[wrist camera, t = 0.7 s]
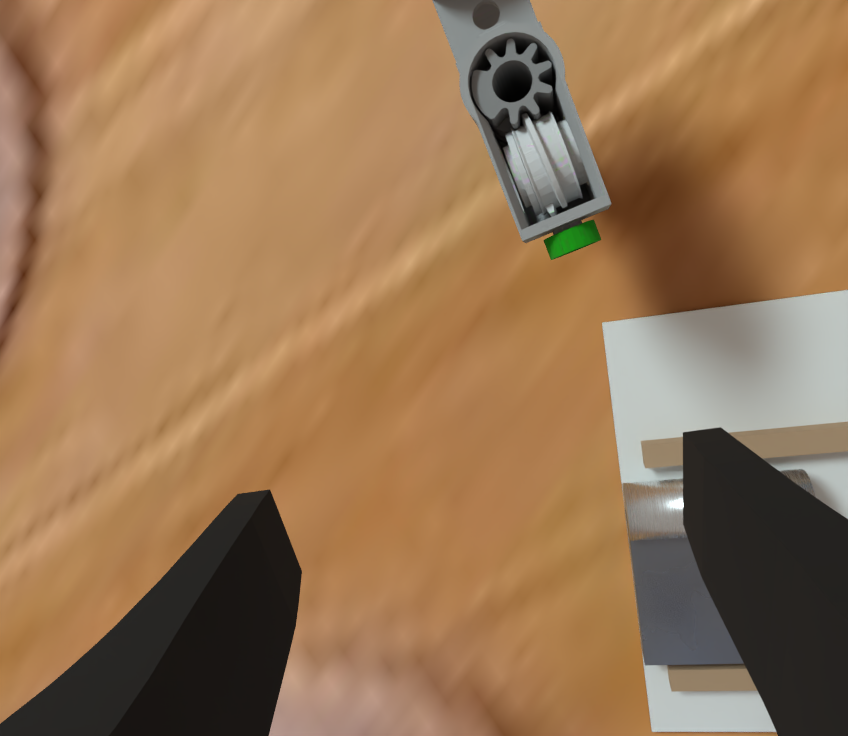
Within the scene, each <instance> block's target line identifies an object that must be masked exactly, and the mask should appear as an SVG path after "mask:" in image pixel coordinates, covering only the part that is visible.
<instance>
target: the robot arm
mask: <svg viewBox="0 0 848 736" xmlns="http://www.w3.org/2000/svg"><path fill="white" fill-rule="evenodd" d="M683 525H684V528H685V531H686V534H687V537H688V540H689V543H690V546H691V549H692V552H693V555H694V558H695V560H696V563H697V566H698V569H699V571H700V574H701V577H702V579H703V581H704V584H705V586H706V588H707V590H708V592H709V594H710V596H711V598H712V600H713V602H714V604H715V606H716V608H717V610H718V612H719V614H720V616H721V618H722V620H723V622H724V624H725V626H726V628H727V630H728V632H729V634H730V636H731V638H732V640H733V643H734V645H735V647H736V649H737V651H738V653H739V655H740V657H741V659H742V661H743V663H744V665H745V667H746V669H747V671H748V673H749V675H750V677H751V679H752V681H753V683H754V685H755V687H756V689H757V691H758V693H759V695H760V697H761V699H762V701H763V703H764V705H765V707H766V709H767V712H768V714H769V716H770V718H771V720H772V723H773V725H774V727H775V729H776V732H777V734H778V736H848V519H847V518H846V517H844V516H842V515H841V514H839V513H838V512H836V511H835V510H833V509H832V508H830V507H829V506H827V505H826V504H825V503H823V502H822V501H820V500H819V499H817V498H816V497H814V496H813V495H812V494H810V493H809V492H807V491H806V490H804V489H803V488H802V487H800V486H799V485H797V484H796V483H795V482H793V481H792V480H790V479H789V478H788V477H786V476H785V475H784V474H782V473H781V472H780V471H778V470H777V469H776V468H774V467H773V466H772V465H770V464H769V463H768V462H766V461H765V460H764V459H762V458H761V457H760V456H758V455H757V454H756V453H754V452H753V451H752V450H750V449H749V448H748V447H746V446H745V445H744V444H742V443H741V442H740V441H738V440H737V439H736V438H734V437H733V436H732V435H730V434H729V433H728V432H726V431H725V430H724V429H722V428H721V427H718V428H711V429H704V430H696V431H689V432H683ZM301 574H302V571H301V568H300V565H299V563H298V560H297V558H296V555H295V553H294V550H293V547H292V545H291V542H290V540H289V537H288V535H287V532H286V529H285V527H284V524H283V522H282V519H281V517H280V514H279V511H278V509H277V506H276V504H275V501H274V499H273V496H272V493H271V491H270V490H264V491H257V492H249V493H242V494H237V495H236V497H235V498H234V499H233V500H232V501H231V502H230V503H229V504H228V505H227V506H226V507H225V508H224V509H223V510H222V511H221V513H220V514H219V515H218V516H217V517H216V518H215V519H214V520H213V522H212V523H211V524H210V525H209V526H208V527H207V528H206V529H205V531H204V532H203V533H202V534H201V535H200V536H199V537H198V539H197V540H196V541H195V542H194V543H193V544H192V545H191V546H190V548H189V549H188V550H187V551H186V552H185V553H184V554H183V555H182V556H181V557H180V559H179V560H178V561H177V562H176V563H175V564H174V565H173V566H172V567H171V569H170V570H169V571H168V572H167V573H166V574H165V575H164V576H163V577H162V578H161V580H160V581H159V582H158V583H157V584H156V585H155V586H154V587H153V588H152V589H151V590H150V591H149V592H148V593H147V594H146V595H145V596H144V597H143V598H142V599H141V600H140V601H139V602H138V603H137V604H136V605H135V606H134V607H133V608H132V609H131V610H130V611H129V612H128V613H127V614H126V615H125V616H124V618H123V619H122V620H121V621H120V622H119V623H118V624H117V625H116V626H115V627H114V628H113V629H112V630H110V631H109V632H108V633H107V634H106V635H105V636H104V637H103V638H102V639H101V640H100V641H99V642H98V643H97V644H96V645H95V646H93V647H92V648H91V649H90V650H89V651H88V652H87V653H86V654H85V655H83V656H82V657H81V658H80V659H79V660H78V661H77V662H76V663H74V664H73V665H72V666H71V667H70V668H69V669H68V670H66V671H65V672H64V673H63V674H62V675H61V676H60V677H58V678H57V679H56V680H55V681H54V682H52V683H51V684H50V685H49V686H48V687H46V688H45V689H44V690H43V691H41V692H40V693H39V694H38V695H36V696H35V697H34V698H32V699H31V700H30V701H29V702H27V703H26V704H25V705H24V706H22V707H21V708H20V709H18V710H17V711H16V712H15V713H13V714H12V715H11V716H10V717H8V718H7V719H6V720H4V721H3V722H2V723H1V724H0V736H269V732H270V728H271V724H272V720H273V716H274V712H275V708H276V704H277V700H278V696H279V692H280V688H281V684H282V680H283V676H284V672H285V668H286V664H287V660H288V656H289V652H290V647H291V643H292V639H293V635H294V630H295V626H296V619H297V611H298V604H299V594H300V584H301Z"/></svg>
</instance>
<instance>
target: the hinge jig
mask: <svg viewBox="0 0 848 736" xmlns="http://www.w3.org/2000/svg"><path fill="white" fill-rule="evenodd" d="M602 327H603V335H604V343H605V351H606V359H607V368H608V376H609V384H610V392H611V400H612V409H613V417H614V425H615V433H616V441H617V450H618V458H619V466H620V474H621V483H631V482H644V481H657V480H669V479H682V478H683V432H689V431H696V430H704V429H711V428H718V427H721V428H722V429H724V430H725V431H726V432H728V433H729V434H730V435H732V436H733V437H734V438H736V439H737V440H738V441H740V442H741V443H742V444H744V445H745V446H746V447H748V448H749V449H750V450H752V451H753V452H754V453H756V454H757V455H758V456H760V457H761V458H762V459H764V460H765V461H766V462H768V463H769V464H770V465H772V466H773V467H774V468H776V469H777V470H778V471H782V470H794V469H803V470H805V471H806V473H807V474H808V476H809V478H810V480H811V482H812V485H813V488H814V492H815V496H816V498H817V499H819V500H820V501H822V502H823V503H825V504H826V505H827V506H829V507H830V508H832V509H833V510H835V511H836V512H838V513H839V514H841V515H842V516H844V517H846V518H847V519H848V290H843V291H835V292H828V293H820V294H813V295H805V296H798V297H790V298H783V299H775V300H768V301H761V302H753V303H746V304H738V305H731V306H723V307H716V308H708V309H701V310H693V311H686V312H678V313H671V314H663V315H656V316H648V317H641V318H633V319H626V320H618V321H611V322H603V323H602ZM622 491H623V486H622ZM623 499H624V497H623ZM624 507H625V505H624ZM625 515H626V513H625ZM626 524H627V522H626ZM627 532H628V530H627ZM628 540H629V538H628ZM629 548H630V546H629ZM630 556H631V554H630ZM631 565H632V563H631ZM632 573H633V571H632ZM633 581H634V579H633ZM634 589H635V587H634ZM635 597H636V595H635ZM636 606H637V604H636ZM637 614H638V612H637ZM638 622H639V620H638ZM639 630H640V628H639ZM640 639H641V637H640ZM641 647H642V645H641ZM642 655H643V652H642ZM643 663H644V657H643ZM644 671H645V680H646V688H647V696H648V704H649V712H650V721H651V728H652V732H776V729H775V727H774V725H773V723H772V720H771V718H770V716H769V714H768V712H767V709H766V707H765V705H764V703H763V701H762V699H761V697H760V695H759V693H758V691H757V689H756V687H755V685H754V683H753V681H752V679H751V677H750V675H749V673H748V671H747V669H746V667H745V665H744V664H694V665H645V663H644Z"/></svg>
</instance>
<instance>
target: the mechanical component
mask: <svg viewBox="0 0 848 736" xmlns="http://www.w3.org/2000/svg"><path fill="white" fill-rule="evenodd" d="M433 3H434V5H435V8H436V11H437V13H438V16H439V18H440V21H441V24H442V26H443V29H444V31H445V34H446V37H447V39H448V42H449V44H450V47H451V50H452V52H453V55H454V57H455V60H456V66H457V68H458V71H459V73H460V92H461V97H462V100H463V102H464V105H465V107H466V109H467V110H468V112H469V114H470V115H471V117H472V118H473V120H474V121H475V123H476V125H477V126H478V128H479V130H480V132H481V135H482V137H483V140H484V143H485V145H486V148H487V150H488V153H489V156H490V158H491V161H492V163H493V166H494V169H495V171H496V174H497V176H498V179H499V182H500V184H501V187H502V189H503V192H504V195H505V197H506V200H507V202H508V205H509V208H510V210H511V213H512V215H513V218H514V221H515V223H516V226H517V228H518V231H519V234H520V236H521V239H522V241H523V242H525V243H527V242H530V241H532V240H535V239H537V238H540V237H542V236H544V235H547V234H549V233H552V232H553V234H554V235H553V236H551V237H549V238H547V239H545V240H544V243H545V245H546V248H547V251H548V253H549V256H550V258H551V260H553V259H555V258H558V257H561V256H563V255H566V254H568V253H571V252H573V251H576V250H578V249H581V248H583V247H586V246H588V245H590V244H593V243H595V242H597V241H599V240H601V238H600V235H599V232H598V230H597V227H596V224H595V222H594V220H590V221H587V222H584V223H582V221H581V220H583V219H585V218H588V217H590V216H592V215H595V214H597V213H600V212H602V211H604V210H607V209H609V207H610V205H611V201H610V198H609V196H608V193H607V190H606V188H605V185H604V182H603V180H602V177H601V174H600V172H599V169H598V166H597V164H596V161H595V158H594V156H593V153H592V150H591V148H590V145H589V142H588V140H587V137H586V134H585V132H584V129H583V126H582V124H581V121H580V118H579V116H578V113H577V111H576V108H575V105H574V103H573V100H572V97H571V95H570V92H569V89H568V87H567V84H566V81H565V67H564V62H563V57H562V55H561V52H560V50H559V48H558V46H557V45H556V43H555V42H554V40H553V39H552V38H551V37H550V36H549V35H548V34H547V33H545V32H544V31H543V28H542V26H541V23H540V22H538V21H537V18H536V16H535V13H534V11H533V8H532V5H531V3H530V0H433Z"/></svg>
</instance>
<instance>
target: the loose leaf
mask: <svg viewBox="0 0 848 736" xmlns="http://www.w3.org/2000/svg"><path fill="white" fill-rule="evenodd" d="M780 472H781V473H782V474H784V475H785V476H786V477H788V478H789V479H790V480H792V481H793V482H795V483H796V484H797V485H799V486H800V487H802V488H803V489H804V490H806V491H807V492H809V493H810V494H812V495H813V496H814V497H816V496H815V492H814V488H813V485H812V482H811V480H810V478H809V476H808V474H807V473H806V471H805V470H803V469H794V470H782V471H780ZM622 486H623V497H624V505H625V513H626V522H627V530H628V538H629V546H630V554H631V563H632V571H633V579H634V587H635V595H636V604H637V612H638V620H639V628H640V637H641V645H642V652H643V657H644V663H645V665H694V664H744V663H743V661H742V659H741V657H740V655H739V653H738V651H737V649H736V647H735V645H734V643H733V640H732V638H731V636H730V634H729V632H728V630H727V628H726V626H725V624H724V622H723V620H722V618H721V616H720V614H719V612H718V610H717V608H716V606H715V604H714V602H713V600H712V598H711V596H710V594H709V592H708V590H707V588H706V586H705V584H704V581H703V579H702V577H701V574H700V571H699V569H698V566H697V563H696V560H695V558H694V555H693V552H692V549H691V546H690V543H689V540H688V537H687V534H686V531H685V528H684V525H683V478H682V479H669V480H657V481H644V482H631V483H622Z"/></svg>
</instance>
